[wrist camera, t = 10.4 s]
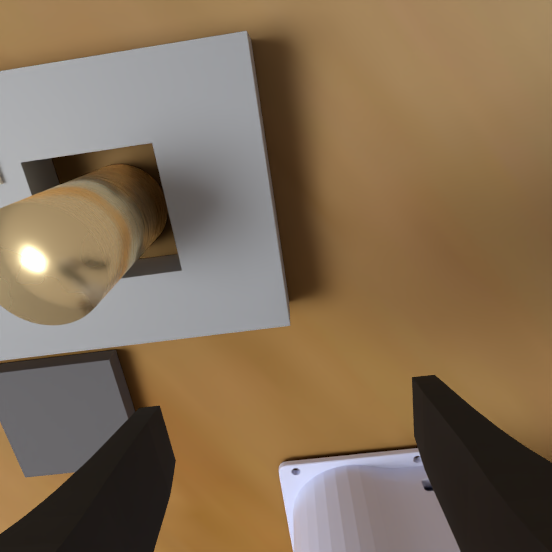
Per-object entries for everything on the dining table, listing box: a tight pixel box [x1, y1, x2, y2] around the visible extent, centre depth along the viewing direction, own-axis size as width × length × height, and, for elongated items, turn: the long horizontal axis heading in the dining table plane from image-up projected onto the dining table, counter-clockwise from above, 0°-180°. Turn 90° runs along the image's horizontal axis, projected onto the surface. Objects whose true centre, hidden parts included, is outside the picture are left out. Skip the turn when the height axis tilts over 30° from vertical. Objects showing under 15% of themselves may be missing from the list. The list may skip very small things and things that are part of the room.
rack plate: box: [0, 31, 290, 361], centre depth 20 cm, size 20×12×3 cm, turn 98°
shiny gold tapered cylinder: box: [0, 164, 168, 325], centre depth 18 cm, size 4×4×8 cm
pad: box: [0, 350, 135, 477], centre depth 25 cm, size 7×7×1 cm
